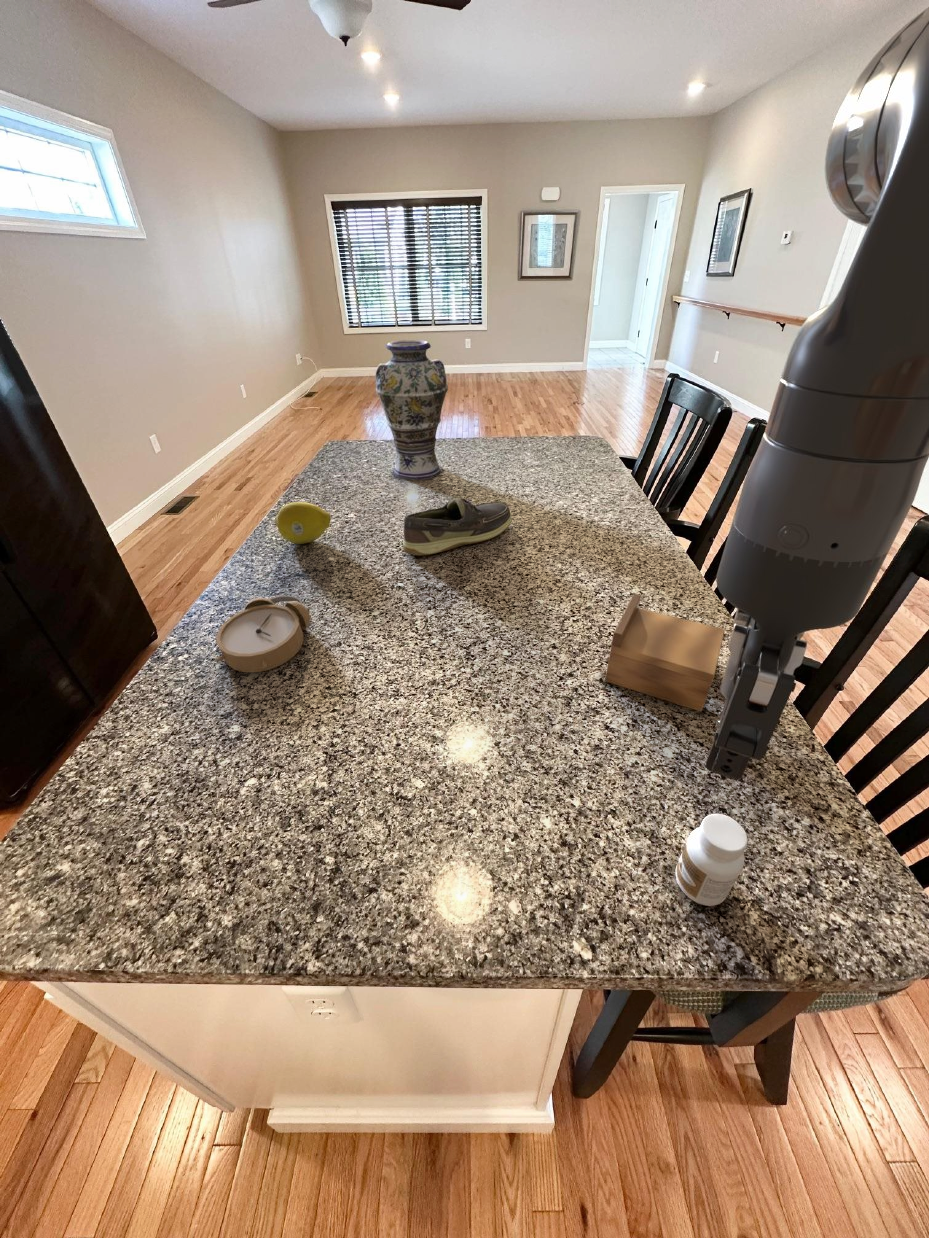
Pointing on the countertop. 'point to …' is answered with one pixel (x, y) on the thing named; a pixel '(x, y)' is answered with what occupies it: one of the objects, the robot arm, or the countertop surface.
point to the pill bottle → (712, 860)
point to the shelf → (664, 656)
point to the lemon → (302, 522)
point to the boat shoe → (454, 526)
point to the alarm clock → (263, 634)
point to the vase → (412, 406)
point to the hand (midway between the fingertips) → (729, 729)
